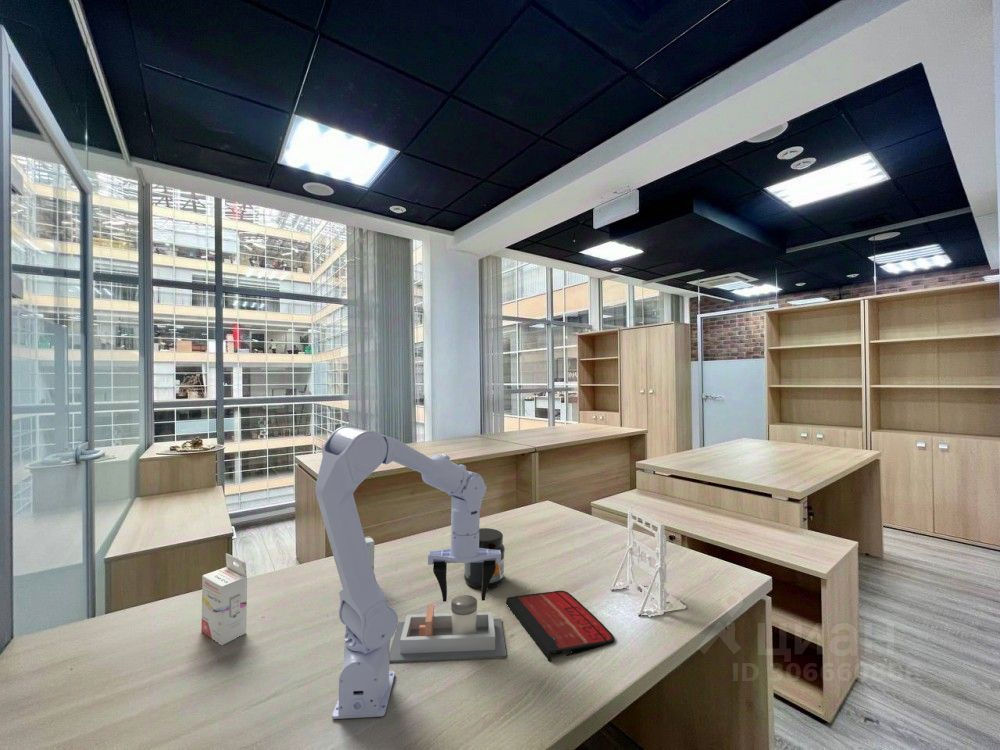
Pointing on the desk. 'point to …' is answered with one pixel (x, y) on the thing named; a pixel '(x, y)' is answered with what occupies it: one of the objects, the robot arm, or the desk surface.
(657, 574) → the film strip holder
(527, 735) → the desk surface
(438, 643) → the base
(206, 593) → the ink cartridge box
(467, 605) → the jar
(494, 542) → the supplement container
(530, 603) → the binder
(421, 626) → the pusher
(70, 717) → the desk surface
